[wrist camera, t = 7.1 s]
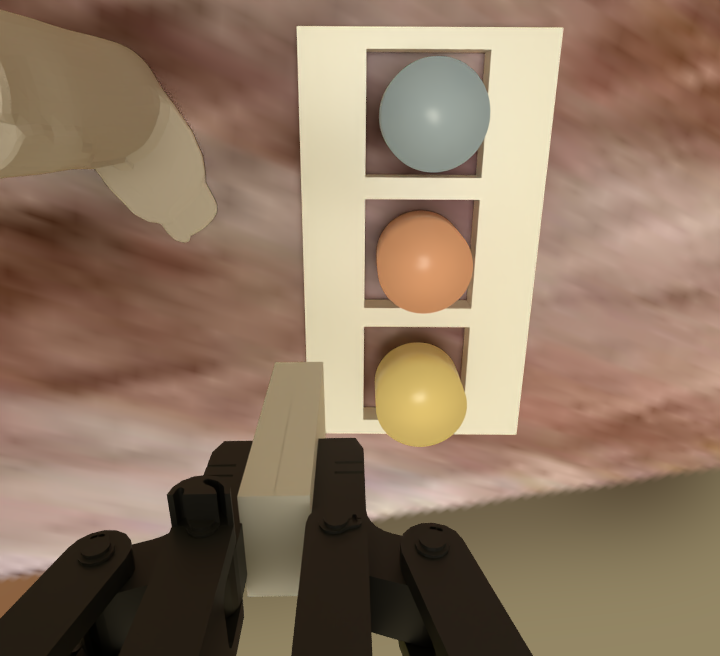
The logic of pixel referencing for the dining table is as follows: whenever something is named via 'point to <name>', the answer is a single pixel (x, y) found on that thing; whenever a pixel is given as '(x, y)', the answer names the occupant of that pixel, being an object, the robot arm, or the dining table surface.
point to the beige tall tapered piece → (98, 122)
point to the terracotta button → (423, 262)
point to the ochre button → (419, 395)
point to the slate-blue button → (435, 114)
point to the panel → (487, 188)
